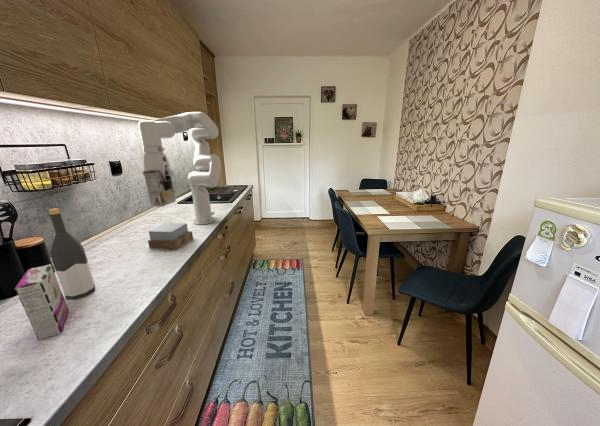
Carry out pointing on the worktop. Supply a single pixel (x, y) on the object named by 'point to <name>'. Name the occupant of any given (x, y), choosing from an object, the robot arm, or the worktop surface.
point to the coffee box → (158, 189)
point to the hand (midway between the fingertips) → (160, 189)
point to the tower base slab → (171, 242)
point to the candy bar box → (43, 301)
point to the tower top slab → (168, 231)
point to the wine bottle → (70, 261)
